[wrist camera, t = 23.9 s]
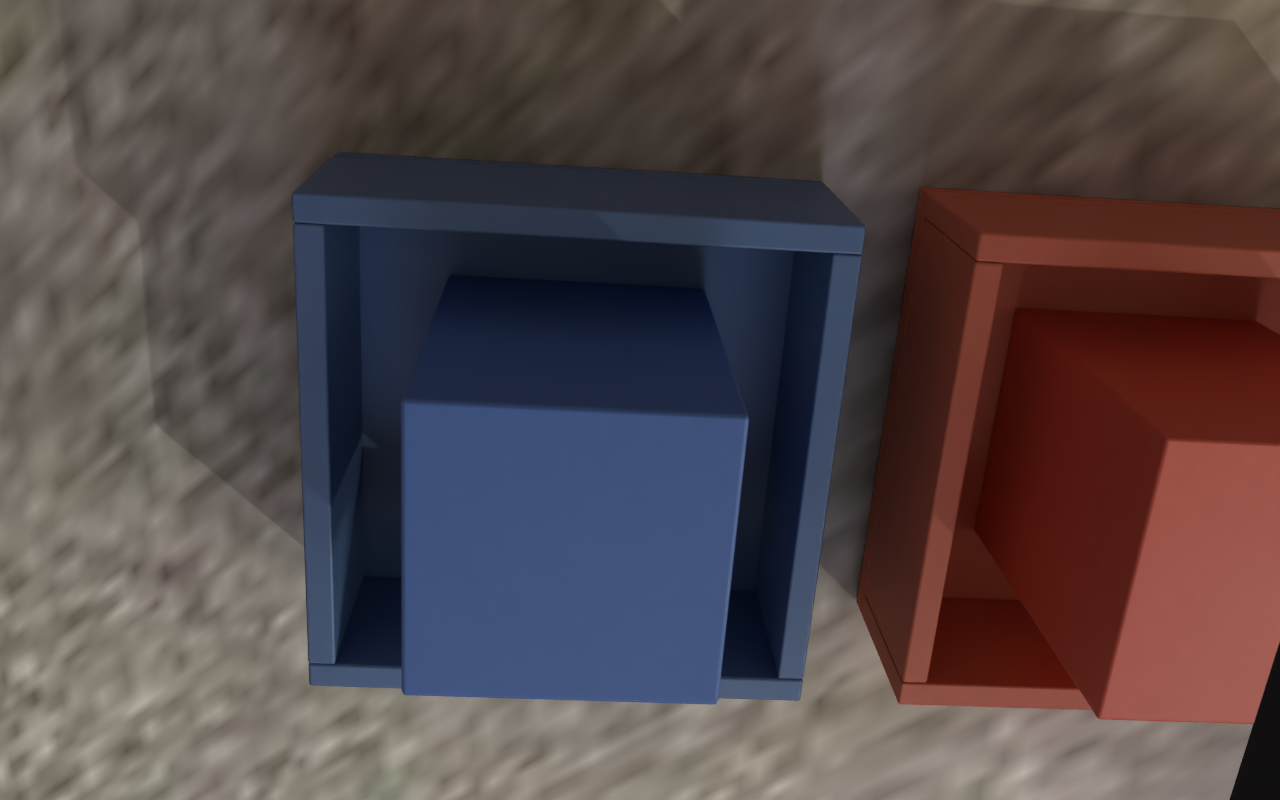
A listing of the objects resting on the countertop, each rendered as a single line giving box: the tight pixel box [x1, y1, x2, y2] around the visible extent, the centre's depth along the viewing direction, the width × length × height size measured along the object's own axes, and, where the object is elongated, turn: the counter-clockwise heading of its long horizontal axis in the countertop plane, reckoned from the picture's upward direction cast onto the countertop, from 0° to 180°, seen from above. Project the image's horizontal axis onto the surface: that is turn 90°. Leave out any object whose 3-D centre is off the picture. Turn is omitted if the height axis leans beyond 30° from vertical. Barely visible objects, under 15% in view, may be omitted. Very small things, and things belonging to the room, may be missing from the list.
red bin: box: [857, 187, 1280, 710], centre depth 29 cm, size 11×11×5 cm
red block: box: [974, 308, 1280, 724], centre depth 26 cm, size 6×6×8 cm
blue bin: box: [292, 152, 866, 701], centre depth 28 cm, size 11×11×5 cm
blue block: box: [401, 275, 749, 704], centre depth 25 cm, size 6×6×8 cm
